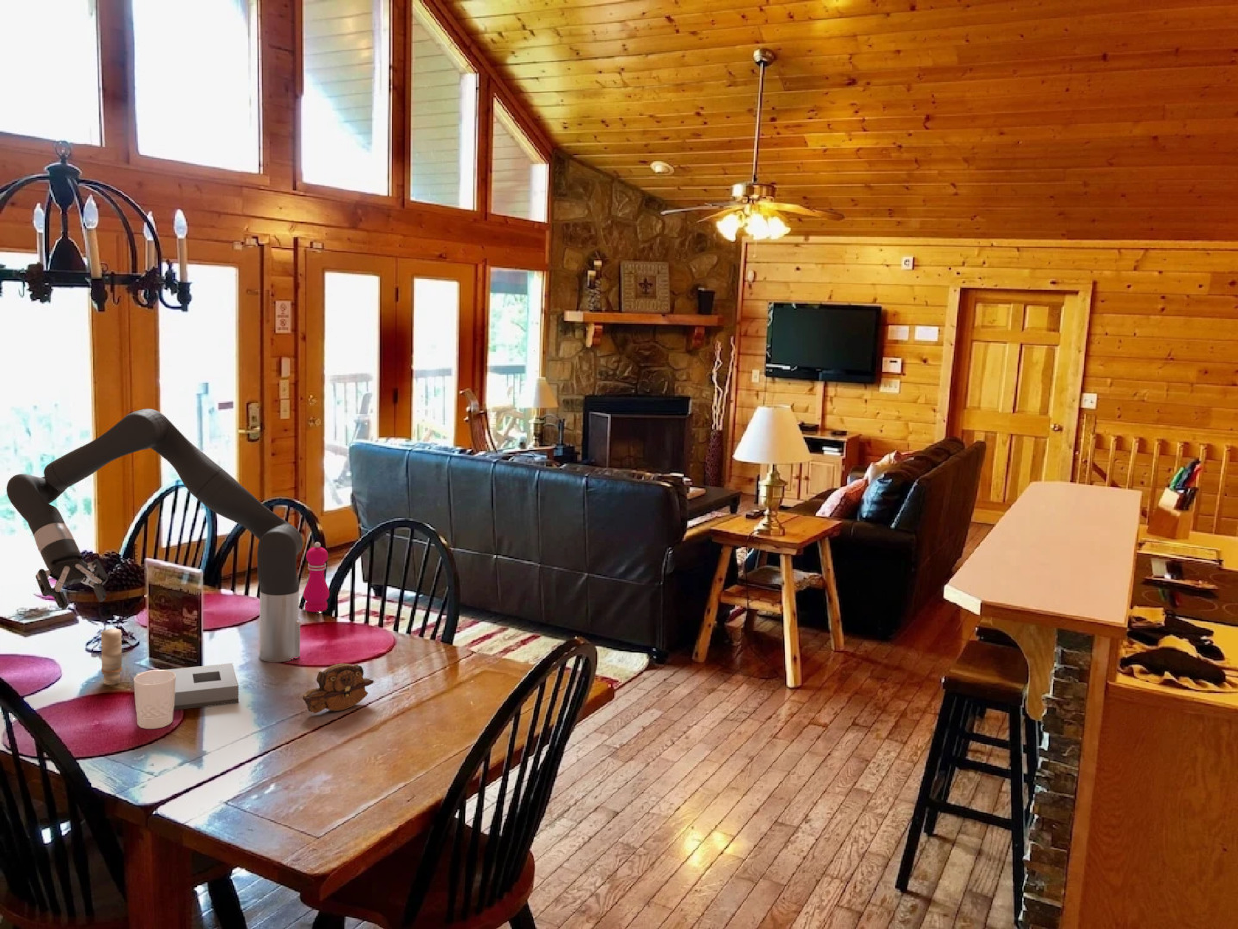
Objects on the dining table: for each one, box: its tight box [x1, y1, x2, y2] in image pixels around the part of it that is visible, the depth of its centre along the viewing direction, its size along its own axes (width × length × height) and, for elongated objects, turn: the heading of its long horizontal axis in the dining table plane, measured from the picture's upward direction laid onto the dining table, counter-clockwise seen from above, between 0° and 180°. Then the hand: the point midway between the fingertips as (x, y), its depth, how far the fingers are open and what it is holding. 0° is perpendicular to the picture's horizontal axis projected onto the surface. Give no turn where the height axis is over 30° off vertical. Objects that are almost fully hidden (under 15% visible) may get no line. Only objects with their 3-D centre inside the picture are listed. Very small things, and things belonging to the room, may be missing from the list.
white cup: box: [133, 669, 176, 730], centre depth 200 cm, size 8×8×10 cm
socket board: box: [136, 662, 240, 711], centre depth 214 cm, size 20×14×4 cm
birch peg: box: [100, 628, 123, 686], centre depth 218 cm, size 4×4×12 cm
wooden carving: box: [302, 663, 374, 714], centre depth 212 cm, size 16×5×10 cm, turn 140°
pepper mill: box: [302, 541, 330, 613], centre depth 277 cm, size 7×7×20 cm
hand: (84, 603), depth 222 cm, fingers open, 8 cm apart
